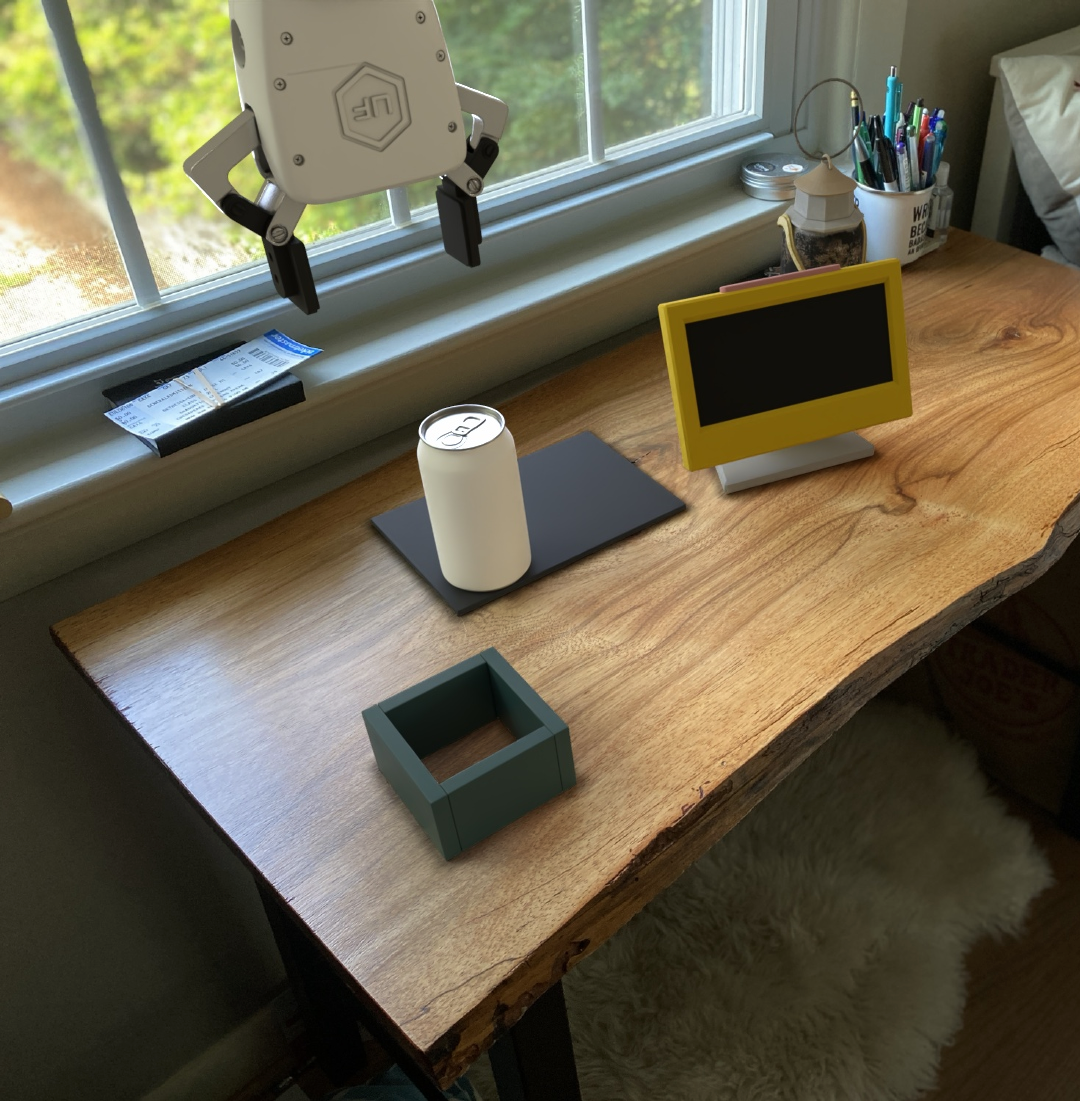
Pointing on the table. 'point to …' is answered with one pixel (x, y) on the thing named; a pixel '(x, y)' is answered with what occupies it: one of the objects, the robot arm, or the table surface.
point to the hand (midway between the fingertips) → (386, 281)
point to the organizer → (491, 784)
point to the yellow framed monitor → (787, 370)
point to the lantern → (823, 214)
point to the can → (474, 497)
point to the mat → (547, 514)
